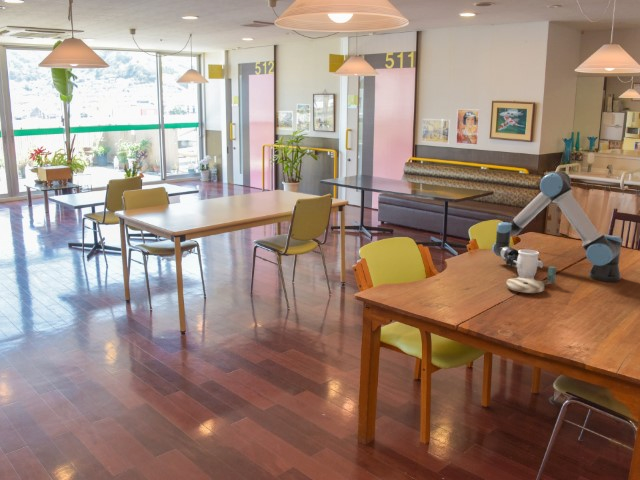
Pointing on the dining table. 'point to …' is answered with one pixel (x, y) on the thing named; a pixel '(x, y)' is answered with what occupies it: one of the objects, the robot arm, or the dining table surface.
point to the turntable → (531, 283)
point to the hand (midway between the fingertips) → (531, 265)
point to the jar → (527, 263)
